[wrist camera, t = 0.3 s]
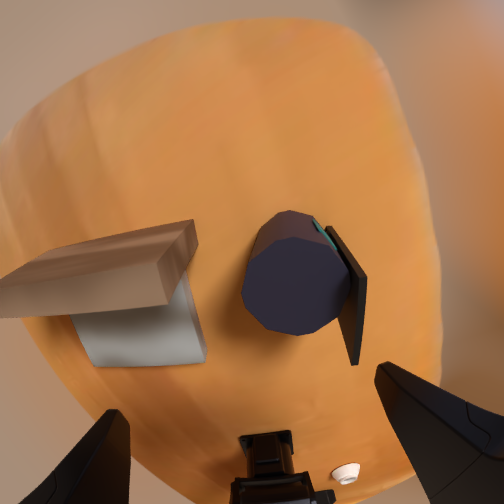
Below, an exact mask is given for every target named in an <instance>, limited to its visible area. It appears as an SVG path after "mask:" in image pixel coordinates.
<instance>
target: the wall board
mask: <svg viewBox="0 0 504 504" xmlns="http://www.w3.org/2000/svg"><path fill="white" fill-rule="evenodd" d="M197 246H198V240H197V235H196V230H195V225H194V220H193V219H191V220H186V221H181V222H175V223H170V224H165V225H160V226H155V227H150V228H145V229H140V230H136V231H131V232H126V233H121V234H117V235H112V236H108V237H103V238H99V239H95V240H90V241H86V242H82V243H78V244H73V245H69V246H65V247H61V248H57V249H53V250H49V251H47V252H46V253H44V254H42V255H40V256H38V257H37V258H35V259H33V260H31V261H30V262H28V263H26V264H25V265H23V266H21V267H20V268H18V269H16V270H15V271H13V272H11V273H10V274H8V275H6V276H5V277H3V278H2V279H0V318H18V317H37V316H53V315H67V314H69V316H70V318H71V320H72V323H73V325H74V327H75V329H76V332H77V334H78V336H79V338H80V340H81V342H82V344H83V346H84V348H85V350H86V352H87V354H88V356H89V358H90V360H91V362H92V364H93V366H95V367H139V366H165V365H181V364H194V363H205V362H206V355H207V346H206V343H205V339H204V336H203V332H202V329H201V326H200V322H199V319H198V315H197V311H196V308H195V304H194V300H193V297H192V293H191V289H190V285H189V281H188V277H187V273H186V267H187V265H188V263H189V261H190V259H191V257H192V255H193V253H194V251H195V250H196V248H197Z"/></svg>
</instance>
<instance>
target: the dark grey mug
mask: <svg viewBox="0 0 504 504" xmlns="http://www.w3.org/2000/svg"><path fill="white" fill-rule="evenodd" d="M366 292H367V276H366V274H365V273H364V271H363V270H362V268H361V267H360V265H359V264H358V262H357V261H356V259H355V258H354V257H353V255H352V254H351V252H350V251H349V249H348V248H347V247H346V245H345V244H344V242H343V241H342V240H341V238H340V237H339V235H338V234H337V233H336V231H335V230H334V229H333V227H332V226H327V233H326V232H325V231H324V230H323V228H322V227H321V226H320V225H319V223H318V222H317V221H316V220H315V218H314V217H313V216H311V215H307V214H303V213H299V212H295V211H291V210H289V211H284V212H280V213H278V214H276V215H275V216H274V217H273V218H272V219H270V220H269V221H268V222H267V223H266V224H264V225H263V226H262V227H261V228H260V231H259V234H258V237H257V239H256V242H255V245H254V248H253V251H252V254H251V256H250V259H249V262H248V266H247V270H246V275H245V279H244V283H243V288H242V292H241V294H242V297H243V301H244V304H245V307H246V309H247V310H248V311H249V312H250V313H251V314H252V315H253V316H254V317H255V318H256V319H257V320H258V321H259V322H260V323H261V324H262V325H263V326H264V327H265V328H266V329H268V330H273V331H277V332H282V333H286V334H291V335H296V336H300V335H305V334H311V333H314V332H316V331H317V330H319V329H320V328H322V327H323V326H325V325H326V324H328V323H329V322H331V321H332V320H334V319H335V318H338V321H339V324H340V328H341V331H342V334H343V338H344V341H345V345H346V348H347V352H348V356H349V359H350V363H351V366H353V365H358V363H359V357H360V350H361V342H362V334H363V325H364V315H365V305H366Z"/></svg>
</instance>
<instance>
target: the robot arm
mask: <svg viewBox="0 0 504 504" xmlns="http://www.w3.org/2000/svg"><path fill="white" fill-rule="evenodd" d="M374 383H375V387H376V389H377V392H378V394H379V397H380V399H381V402H382V405H383V407H384V410H385V412H386V415H387V417H388V420H389V422H390V424H391V426H392V427H393V429H394V431H395V433H396V435H397V437H398V439H399V441H400V443H401V445H402V447H403V448H404V450H405V452H406V454H407V456H408V458H409V460H410V462H411V464H412V466H413V468H414V470H415V472H416V474H417V476H418V478H419V480H420V482H421V484H422V486H423V488H424V490H425V493H426V495H427V497H428V499H429V501H430V504H504V416H501V415H498V414H495V413H492V412H490V411H487V410H484V409H482V408H480V407H478V406H476V405H473V404H471V403H469V402H466V401H465V400H463V399H461V398H459V397H457V396H455V395H453V394H451V393H449V392H447V391H445V390H443V389H441V388H439V387H437V386H435V385H433V384H431V383H429V382H428V381H426V380H424V379H422V378H420V377H418V376H416V375H414V374H412V373H410V372H408V371H406V370H405V369H403V368H401V367H399V366H397V365H395V364H393V363H391V362H389V361H387V362H384V363H381V364H379V365H378V366H377V369H376V374H375V379H374ZM240 443H241V445H242V448H243V451H244V453H245V456H246V458H247V478H240V477H235V481H234V482H232V483H231V495H230V501H229V504H317V503H316V496H315V492H314V489H313V486H312V483H311V479H310V476H309V473H308V471H305V472H303V473H296V474H295V473H294V467H293V461H292V456H291V455H293V454H294V452H293V443H292V434H291V431H290V430H286V431H280V432H273V433H266V434H258V435H248V436H241V437H240ZM130 466H131V454H130V425H129V423H128V421H127V420H126V418H125V417H124V416H123V414H122V413H121V412H120V411H119V410H118V409H108V410H107V411H106V412H105V413H104V414H103V415H102V416H101V417H100V418H99V420H98V421H97V422H96V423H95V424H94V425H93V426H92V428H91V429H90V430H89V431H88V432H87V433H86V434H85V435H84V436H83V437H82V439H81V440H80V441H79V442H78V443H77V444H76V446H75V447H74V448H73V449H72V450H71V451H70V452H69V453H68V455H66V457H65V458H64V459H63V460H62V461H61V462H60V463H59V464H58V466H57V467H56V468H55V469H54V470H53V471H52V472H51V473H50V475H49V476H48V477H47V478H46V479H45V480H44V481H43V482H42V483H41V484H40V485H39V486H38V487H37V488H36V489H35V490H34V491H32V492H31V493H30V494H29V495H28V496H27V497H25V498H24V499H23V500H22V501H21V502H20V503H19V504H129V483H130Z"/></svg>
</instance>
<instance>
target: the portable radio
mask: <svg viewBox="0 0 504 504" xmlns="http://www.w3.org/2000/svg"><path fill="white" fill-rule="evenodd" d="M315 496H316V503H317V504H333V503H334V502H335V501H336V497H335V494H334V490H325V491H319V492H315Z"/></svg>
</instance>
